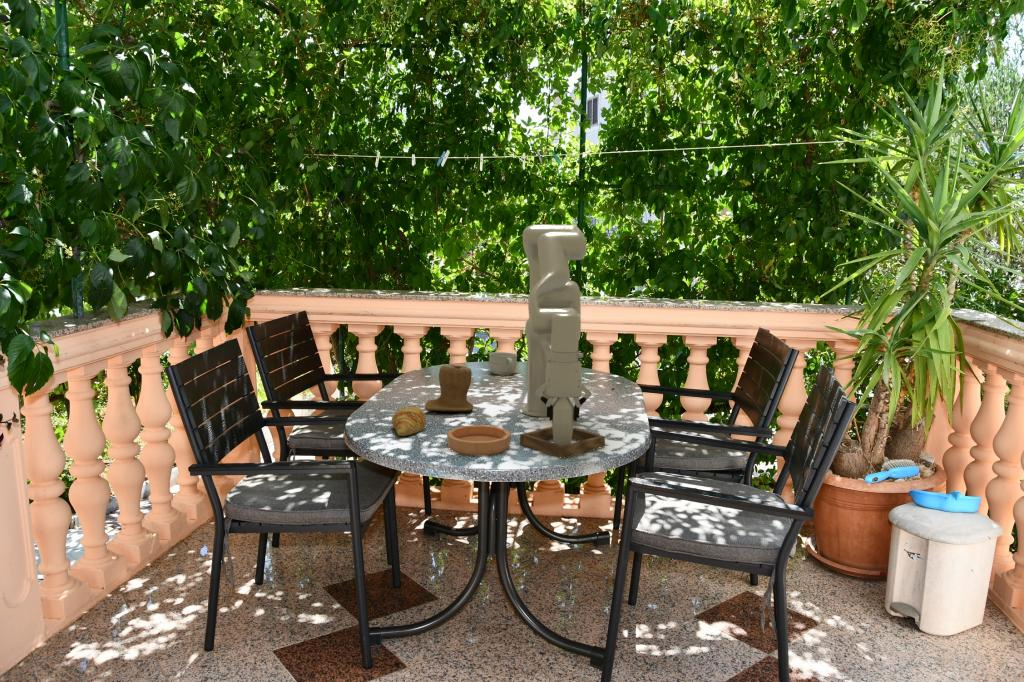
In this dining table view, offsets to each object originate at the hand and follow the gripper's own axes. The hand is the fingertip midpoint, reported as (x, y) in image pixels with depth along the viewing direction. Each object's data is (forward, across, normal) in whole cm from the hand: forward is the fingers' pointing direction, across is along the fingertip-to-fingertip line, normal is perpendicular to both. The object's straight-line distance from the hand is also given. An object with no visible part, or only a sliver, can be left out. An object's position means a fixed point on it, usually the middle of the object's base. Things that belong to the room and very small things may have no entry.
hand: (562, 419), depth 243 cm
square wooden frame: (+8, 0, 0) cm, 8 cm away
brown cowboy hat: (+8, +36, -36) cm, 52 cm away
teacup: (+8, +22, -91) cm, 94 cm away
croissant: (+8, +46, -13) cm, 48 cm away
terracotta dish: (+8, +23, +2) cm, 25 cm away
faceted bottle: (+8, 0, 0) cm, 8 cm away
